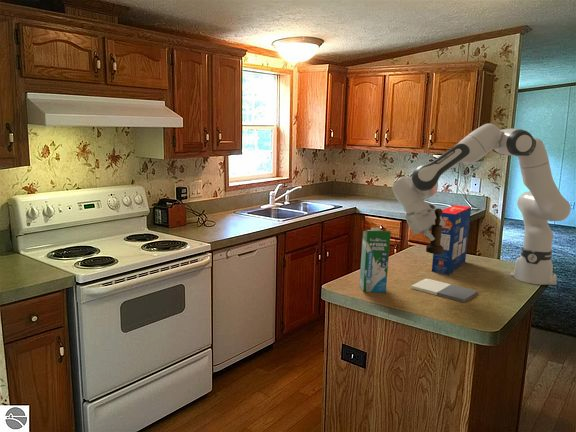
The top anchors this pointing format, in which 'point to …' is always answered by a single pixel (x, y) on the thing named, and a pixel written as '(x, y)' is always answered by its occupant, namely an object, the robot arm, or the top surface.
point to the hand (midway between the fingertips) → (437, 239)
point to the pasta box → (453, 239)
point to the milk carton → (374, 260)
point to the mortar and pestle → (436, 235)
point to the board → (445, 290)
